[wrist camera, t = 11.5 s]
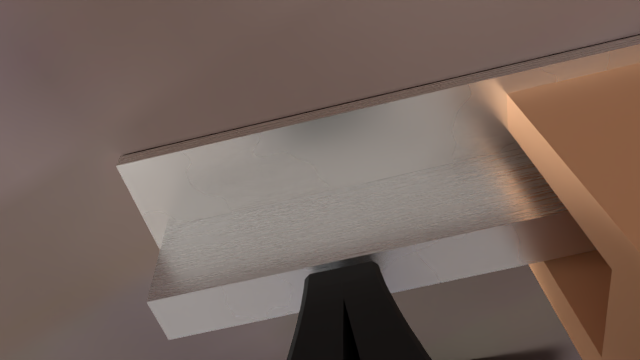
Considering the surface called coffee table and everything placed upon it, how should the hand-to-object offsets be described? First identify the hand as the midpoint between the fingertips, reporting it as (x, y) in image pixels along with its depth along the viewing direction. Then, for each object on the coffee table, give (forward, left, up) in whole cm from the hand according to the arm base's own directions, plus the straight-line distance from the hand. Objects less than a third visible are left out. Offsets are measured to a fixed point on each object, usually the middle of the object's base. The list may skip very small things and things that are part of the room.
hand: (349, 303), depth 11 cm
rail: (0, -5, -3) cm, 6 cm away
